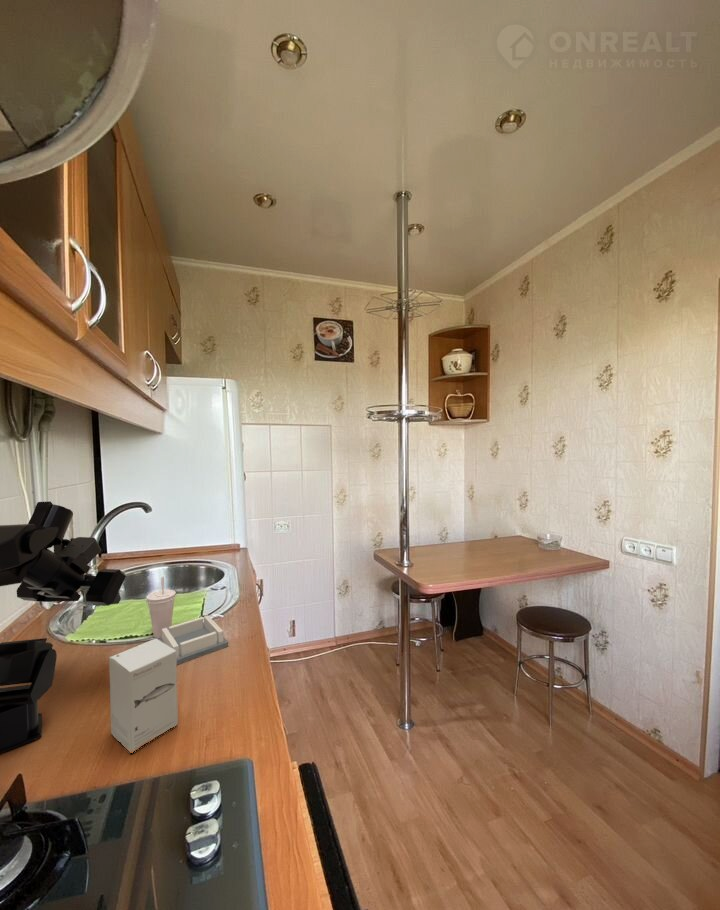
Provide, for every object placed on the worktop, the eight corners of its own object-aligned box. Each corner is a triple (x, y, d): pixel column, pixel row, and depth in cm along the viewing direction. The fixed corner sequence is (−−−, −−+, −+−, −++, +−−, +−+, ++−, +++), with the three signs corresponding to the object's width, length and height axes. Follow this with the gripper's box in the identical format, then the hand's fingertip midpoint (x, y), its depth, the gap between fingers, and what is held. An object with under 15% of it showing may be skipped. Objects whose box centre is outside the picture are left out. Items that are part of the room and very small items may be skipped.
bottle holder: (228, 646, 85) (228, 631, 85) (170, 667, 77) (170, 650, 77) (210, 626, 94) (210, 613, 94) (157, 643, 86) (157, 628, 86)
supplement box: (130, 757, 55) (127, 672, 55) (110, 734, 59) (107, 655, 59) (179, 726, 61) (177, 649, 61) (158, 707, 65) (155, 636, 65)
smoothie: (161, 642, 87) (159, 582, 87) (140, 638, 89) (139, 579, 89) (182, 629, 93) (181, 573, 93) (163, 625, 95) (161, 571, 95)
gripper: (115, 530, 70) (157, 564, 82) (26, 526, 72) (79, 561, 84) (82, 589, 63) (133, 618, 75) (-15, 583, 65) (49, 612, 77)
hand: (98, 599), depth 78 cm, fingers open, 9 cm apart
